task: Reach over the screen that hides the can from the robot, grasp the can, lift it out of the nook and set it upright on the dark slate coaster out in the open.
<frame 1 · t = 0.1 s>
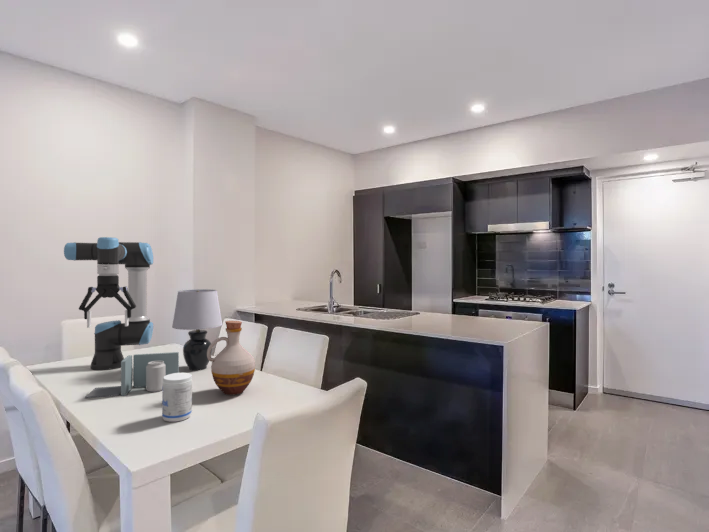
hand: (108, 326, 165), 28 cm above the table, fingers open, 13 cm apart
jug: (231, 392, 169), on the table
supplement tub: (177, 418, 142), on the table
screen: (154, 388, 173), on the table
can: (155, 390, 171), on the table
lamp: (197, 368, 206), on the table
coaster: (106, 392, 168), on the table
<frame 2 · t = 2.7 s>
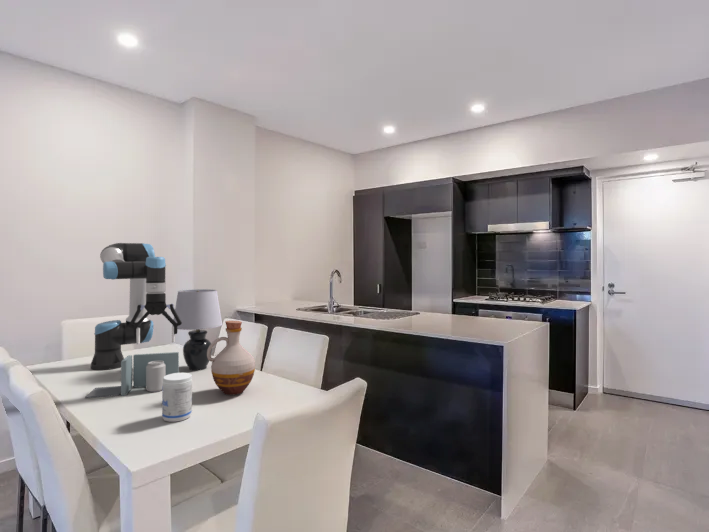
hand: (156, 342, 171), 20 cm above the table, fingers open, 13 cm apart
nothing on the table moved.
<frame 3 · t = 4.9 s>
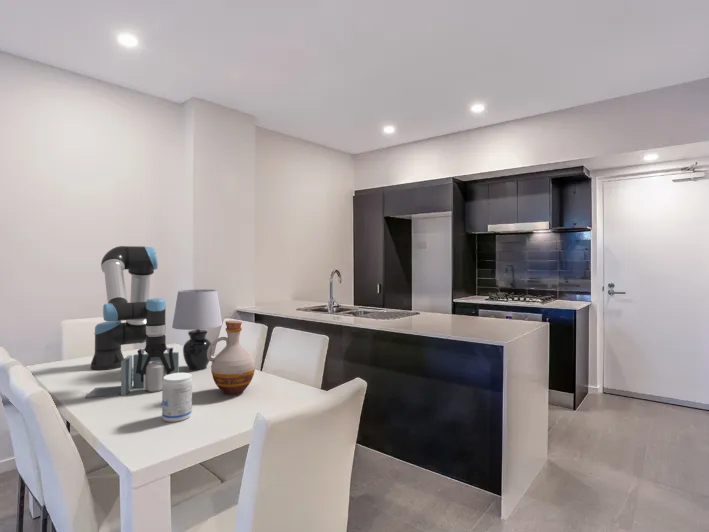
hand: (155, 388, 171), 1 cm above the table, fingers closed on can, 7 cm apart
can: (155, 390, 171), on the table, touching gripper
everything else where it was.
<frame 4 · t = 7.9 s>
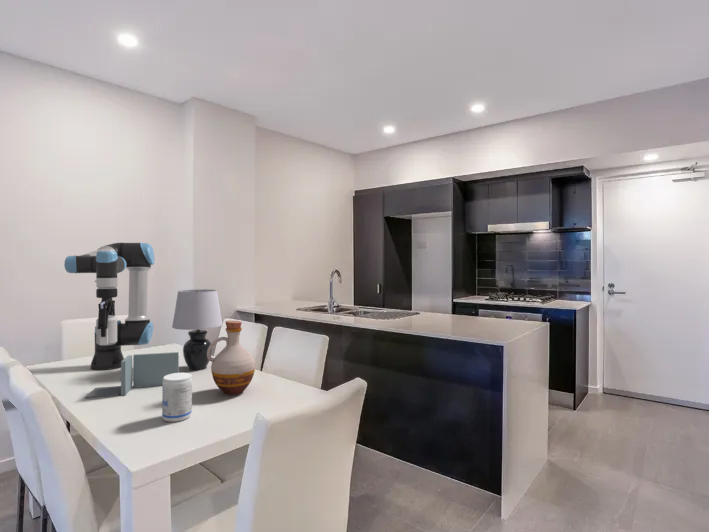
hand: (107, 342, 168), 21 cm above the table, fingers closed on can, 7 cm apart
can: (106, 344, 168), point 20 cm above the table, touching gripper
everything else where it was.
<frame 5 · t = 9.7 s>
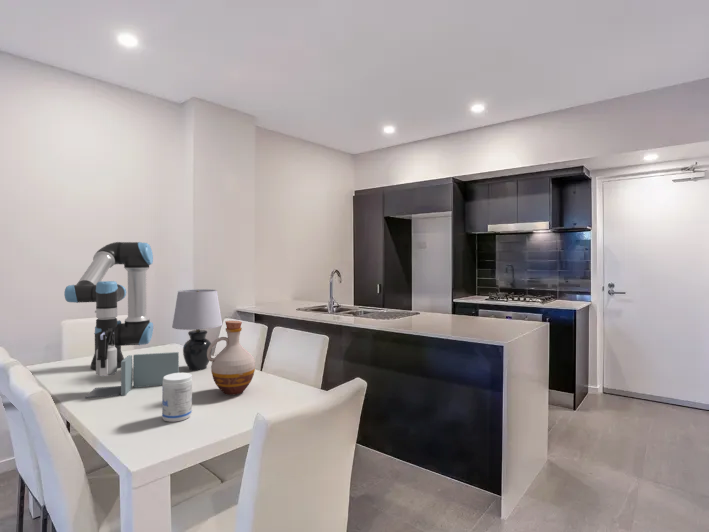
hand: (106, 372, 168), 8 cm above the table, fingers closed on can, 7 cm apart
can: (106, 374, 168), point 7 cm above the table, touching gripper
everything else where it was.
when the fingers open (3 cm above the table, at t = 11.1 s): can drops 1 cm, resting on coaster.
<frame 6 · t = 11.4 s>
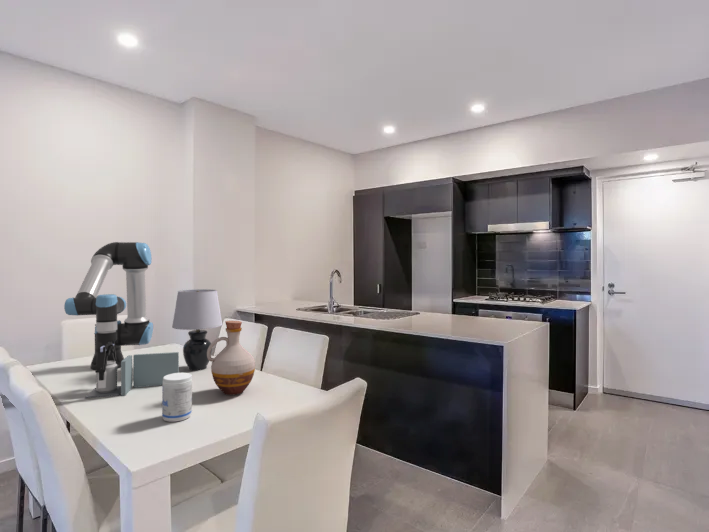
hand: (106, 383, 168), 4 cm above the table, fingers open, 11 cm apart
can: (106, 391, 168), resting on coaster
everything else where it was.
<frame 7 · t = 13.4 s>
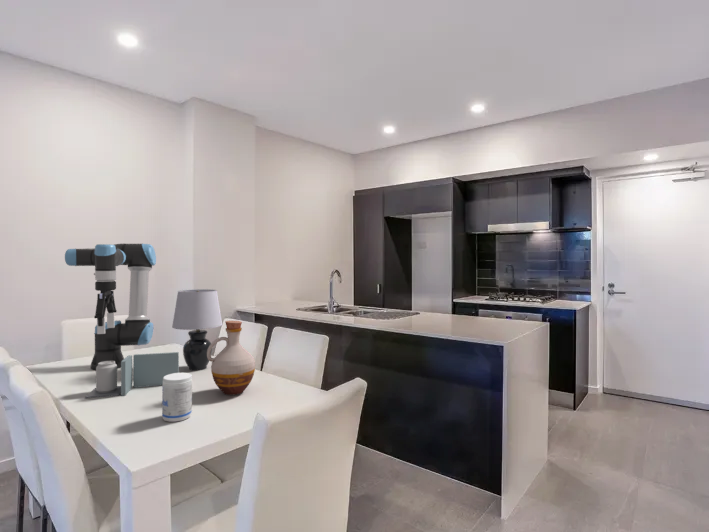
hand: (106, 330, 170), 25 cm above the table, fingers open, 13 cm apart
nothing on the table moved.
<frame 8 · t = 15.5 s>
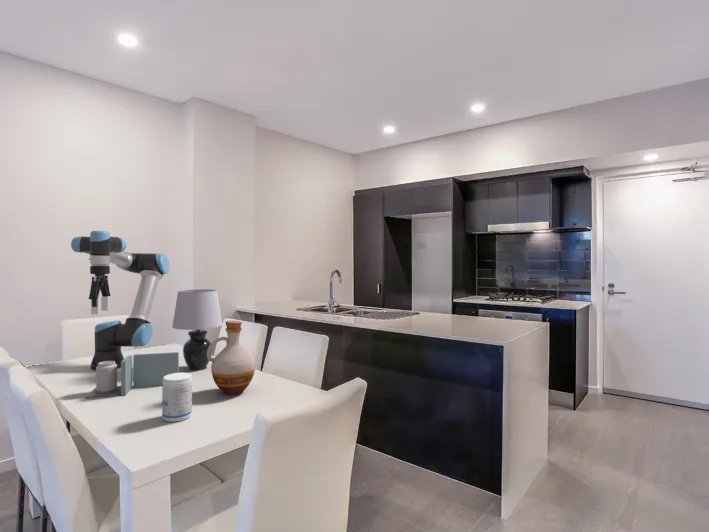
hand: (100, 312, 181), 32 cm above the table, fingers open, 13 cm apart
nothing on the table moved.
at the end: can inside the target area on the coaster (0.1 cm from its centre), point 0.4 cm above the coaster's base; can tilted 0°; the gripper is holding nothing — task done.
